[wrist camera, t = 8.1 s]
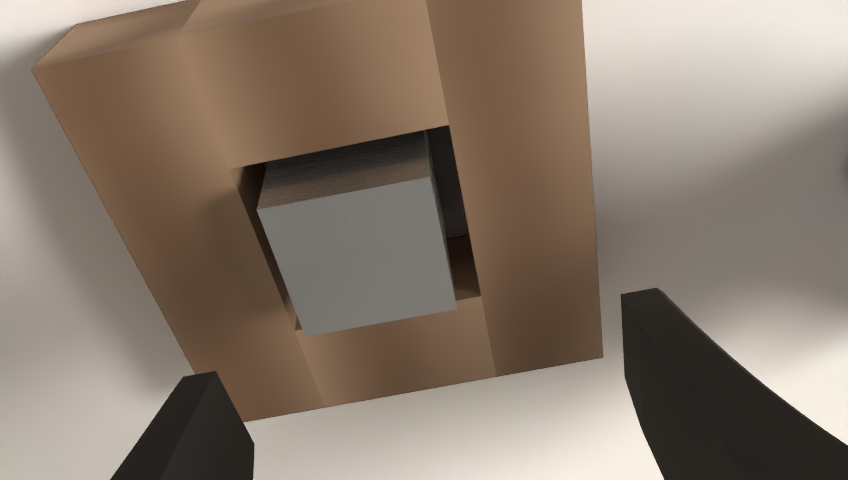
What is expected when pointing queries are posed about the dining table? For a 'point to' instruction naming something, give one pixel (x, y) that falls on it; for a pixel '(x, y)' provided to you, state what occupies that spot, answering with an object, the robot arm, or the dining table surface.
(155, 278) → the holder
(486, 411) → the dining table surface
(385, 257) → the peg
